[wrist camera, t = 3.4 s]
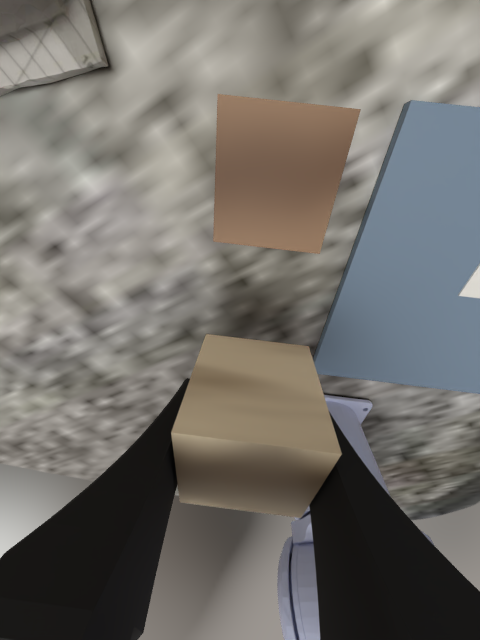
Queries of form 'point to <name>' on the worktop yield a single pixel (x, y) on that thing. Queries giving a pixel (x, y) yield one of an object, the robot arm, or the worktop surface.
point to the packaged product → (47, 42)
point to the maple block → (253, 428)
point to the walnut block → (278, 171)
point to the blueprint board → (415, 261)
